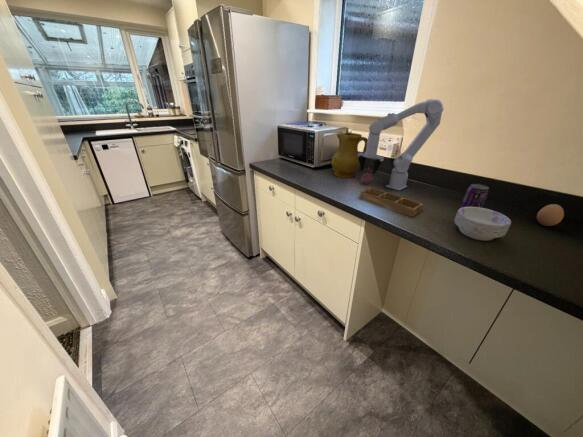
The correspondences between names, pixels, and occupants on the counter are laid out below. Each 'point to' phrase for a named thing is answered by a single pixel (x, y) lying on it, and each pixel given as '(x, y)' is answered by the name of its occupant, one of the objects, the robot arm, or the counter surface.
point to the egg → (550, 215)
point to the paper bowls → (481, 223)
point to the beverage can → (475, 196)
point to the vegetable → (367, 177)
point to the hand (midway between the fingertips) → (367, 171)
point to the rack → (391, 201)
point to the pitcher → (347, 154)
